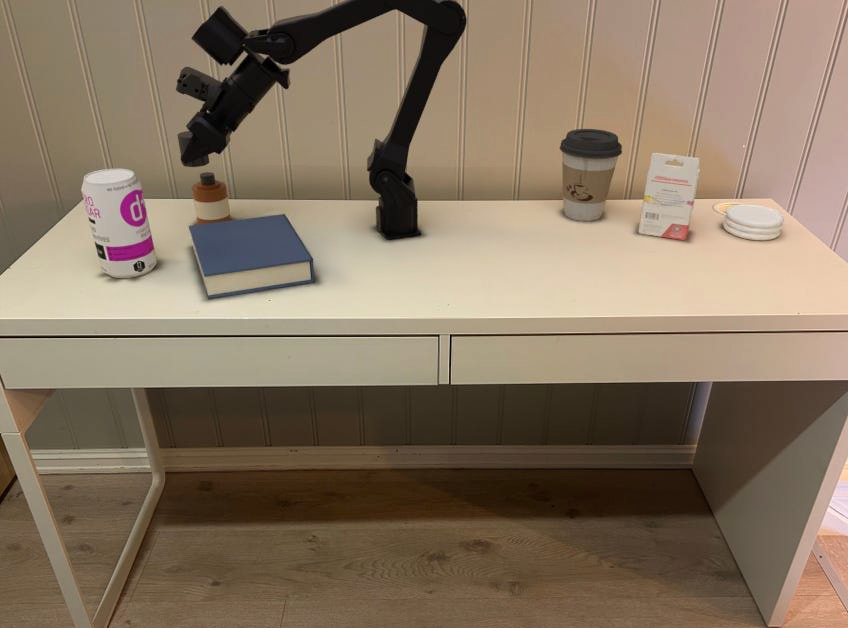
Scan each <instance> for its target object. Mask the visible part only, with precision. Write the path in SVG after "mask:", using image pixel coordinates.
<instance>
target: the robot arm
mask: <svg viewBox="0 0 848 628" xmlns="http://www.w3.org/2000/svg"><path fill="white" fill-rule="evenodd" d="M392 11H398V12H400V13H402V14H404V15H406V16H408V17H410V18H412V19H413V20H415V21H417V22H418V23H420V24H423V30H422V36H421V43H420V47H419V52H418V56H417V57H416V61H415V64H414V66H413V69H412V71H411V74H410V76H409V79H408V83H407V85H406V87H405V90H404V93H403V95H402V97H401V100H400V103H399V106H398V108H397V111H396V113H395V116H394V119H393V121H392V124H391V127H390V130H389V132H388V134H387V135H386V136H385V138H384V139H383V140H379V139H378V138H374V141H373V147H372V151H371V153H370V155H368V157H367V159H366V171H367V172H368V182H369V186H370V187H371V188H372V190H373V191H374V192H375V193H377V194H378V195H380V196H378V198H377V199H378V205H376V206H375V223H376V224H375V227H376V229H377V230H378V231H379V232H380V233H381V234H382V236H384V238H385V239H386V240H393V239H402V238H408V237H415V236H420V235H422V231H421V229H419V228H418V227H419V225H418V224H419V222H418V221H419V220H418V216H419V215H418V213H419V212H418V211H419V210H418V209H419V208H418V201H419V199H418V197H416V189H415V188H416V187H415V182H414V178H412V176H411V175H410V174H409V173H407V172H406V171H407V170H406V169H407V164H408V157H409V153H410V146H411V143H412V140H413V139H414V136H415V133H416V130H417V128H418V126H419V123H420V121H421V118H422V116H423V114H424V110H425V107H426V105H427V103H428V100H429V98H430V95H431V92H432V90H433V88H434V85H435V82H436V80H437V78H438V75H439V73H440V70H441V68H442V66H443V64H444V62H445V61H446V59H448V57H449V56H450V54H452V51H453V50H454V49H455V47H456V46H457V44H458V42H459V41H460V39H461V37H462V36H463V34H464V32H465V30H466V27H467V23H468V21H467V19H468V18H467V14H466V12H465V9H464V8H463V7H462V5H461V4H460V3H459V1H458V0H343V1H341V2H338V3H336V4H334V5H331V6H329V7H328V8H325V9H323V10H320V11H317V12H313V13H306V14H299V15H296V16H295V15H294V16H291V17H287V18H282V19H278V20H277V21H276V22H274V23H273V24H272V25H271V26H270V27H269V28H263V29H262V28H261V29H255V30H250V31H248V30H246V29H245V27H243V26H242V25H241V24H240V23H239V22H238V20H236V19H235V18H234V17H233V16H232V15H231V13H230V12H229V11H228V9H226V8H225V7H224V6H223V5H219V6H218V7H217V8H216V10H215V11H214V12H213V13H212V14H211V15H210V16H209V17H208V19H207V20H205V21H203V22H202V23H201V24H200V26H199V27H198V28H197V30H196V31H195V32H194V33H193V35H192V37H191V40H192V41H193V42H194V44H196V45H197V46H198V47H199V48H201V49H202V50H203V51H204V52H205V53H206V54H207V55H208V56H209V57H211V59H212V60H214V61H215V62H216V63H217V64H218V65H219V66H220V67H222V66H223V65H224V66H227V65H229V66H230V67H232V66H234V64H235V63H236V62H237V61H238V59H239V58H240V57H241V56H242V55H243V53H244V52H245V54H247V55H246V56H245V57H244V58H243V59H242V60H241V62H240V63H239V64H238V66H236V68H235V69H234V70H233V72H232V73H231V74H230V75H229V76H228V77H227V76H225V77H224V79H223V80H222V81H220V80H218V79H216V78H215V77H212V76H211V75H209V74H207V73H204V72H201V71H199V70H198V69H195V68H194V67H190V66H184V67H183V68H182V69H181V70H180V72H179V77H178V78H177V80H176V87H175V91H176V92H177V93H179V94H181V95H187V96H189V97H191V98H194V99H195V100H198V101H200V102H204V103H203V104H202V105H201V108H199V109H200V110H199V111H196V113H195V114H194V115H193V117H191V118H190V120H189V121H188V122H187V124H186V125H185V128H186V129H187V131H190V132H192V137H191V139H190V141H189V143H188V145H187V147H186V149H185V151H184V153H183V155H182V157H180V162H181V161H182V162H183V163H185V164H187V163H190V162H192V161H194V160H197V159H199V158H201V157H204V156H206V155H208V156H210V155H211V154H213V153H215V154H217V155H221V154H222V153H223V151H224V150H225V149H226V148H227V147H228V146H229V143H230V142H231V135H232V133H235V132H236V130H238V128H239V126H240V125H241V124H242V123H243V121H244V120H245V119H246V118H247V117H248V116H249V115H250V114H252V112H254V110H255V108H256V107H257V105H258V104H259V103H260V102H261V101H262V99H263V98H264V97H266V95H267V94H268V93H269V91H271V89H272V88H273V87H274V86H275V85H276V84H279V85H280V87H282V88H283V89H284V90H289V87H290V86H291V79H290V75H291V74H290V73H291V69H290V68H282V67H281V66H280V65H282V66H288V65H291V64H294V63H295V62H297V61H299V60H300V59H301V58H303V57H304V56H306V55H307V54H309V53H310V52H311V51H312V50H314V49H315V48H317V46H319V45H321V44H322V43H324V42H325V41H326V40H328V39H330V38H332V37H334V36H337V35H338V34H339V35H340V34H341V33H344V32H345V31H348V30H350V29H352V28H355V27H357V26H360V25H363V24H364V23H366V22H369V21H371V20H373V19H376V18H378V17H380V16H382V15H385V14H388V13H389V12H392ZM262 55H264V56H266V57H263V56H262ZM182 162H181V163H182Z"/></svg>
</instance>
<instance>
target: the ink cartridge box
mask: <svg viewBox="0 0 848 628" xmlns="http://www.w3.org/2000/svg"><path fill="white" fill-rule="evenodd" d="M650 158H651V159H650V163H649V168H648V169H647V173H646V181H645V187H644V194H643V199H642V206H641V212H640V217H639V218H640V219H639V224H638V230H637V231H638V234H640V235H647V236H653V237H654V236H655V237H662V238H666V239H668V238H669V239H673V240H679V241H686V240H687V236H688V233H689V230H690V226H691V220H692V216H693V210H694V205H695V199H696V193H697V188H698V183H699V177H700V173H701V172H700V171H701V169H700V167H699V166H700V163H701V162H700V158H699V157H692V156H687V155H678V154H669V153H660V152H652V154H651V156H650ZM674 161H676V162H677V163H680V164H682V165H681V166H679V165H670V164H667V162H674Z"/></svg>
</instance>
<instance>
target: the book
mask: <svg viewBox="0 0 848 628" xmlns="http://www.w3.org/2000/svg"><path fill="white" fill-rule="evenodd" d="M188 229H189V233H190V237H191V243H192V245H191V248H192V251H193V254H194V258H195V261H196V264H197V267H198V270H199V274H200V278H201V280H202V284H203V286H204V289H205V290H204V291H205V293H206V297H207V299H208V300H212V299H217V298H223V297H224V298H226V297H230V296H236V295H243V294H244V295H245V294H249V293H257V292H262V291H268V290H275V289H282V288H287V287H294V286H300V285H307V284H313V283H316V278H315V267H314V265H315V264H314V258H313V256H312V255H311V253H310V251H309V250H308V249H307V247H306V245H305V244H304V242H303V240H302V239H301V237H300V235H299V234H298V232H297V231H296V229H295V228H294V225H292V223H291V222H290V220H289V218H288V216H287V215H286V213H281V214H273V215H272V214H271V215H264V216H257V217H256V216H255V217H248V218H240V219H239V218H238V219H232V220H231V221H223V222H215V223H207V224H199V225H198V224H192V225H188Z"/></svg>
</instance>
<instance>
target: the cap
mask: <svg viewBox="0 0 848 628" xmlns="http://www.w3.org/2000/svg"><path fill="white" fill-rule="evenodd" d="M176 136H177V140H178V142H177V143H178V147H179V153H180V158H181V157H182V155H183V153H184V151H185V149H186V147H187V145H188V143H189V141H190V139H191V137H192V132H190V131H189V130H186V131H185V130H184V131H181V132H178V133H177V135H176ZM209 156H210V155H206V156H204V157H201V158H199V159H197V160H194V161H192V162H190V163H187V164H185V163H183V162H182V161H181V160H180V163H181V165H182V166H183V167H186V168H187V167H188V168H199V167H205V166H207V165H209V164H210V158H209Z"/></svg>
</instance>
